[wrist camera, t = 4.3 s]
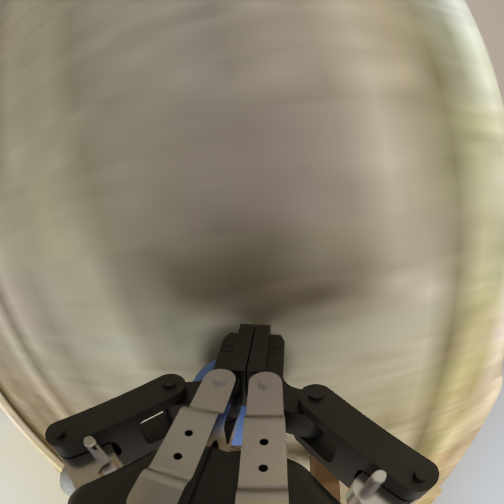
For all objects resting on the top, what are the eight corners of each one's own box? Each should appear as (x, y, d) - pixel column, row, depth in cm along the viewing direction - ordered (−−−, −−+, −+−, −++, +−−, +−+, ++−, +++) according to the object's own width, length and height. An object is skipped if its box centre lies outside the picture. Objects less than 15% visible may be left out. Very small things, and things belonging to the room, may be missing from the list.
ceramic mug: (119, 488, 33) (106, 516, 26) (85, 473, 34) (71, 499, 27) (98, 463, 30) (80, 496, 23) (62, 446, 31) (44, 474, 23)
